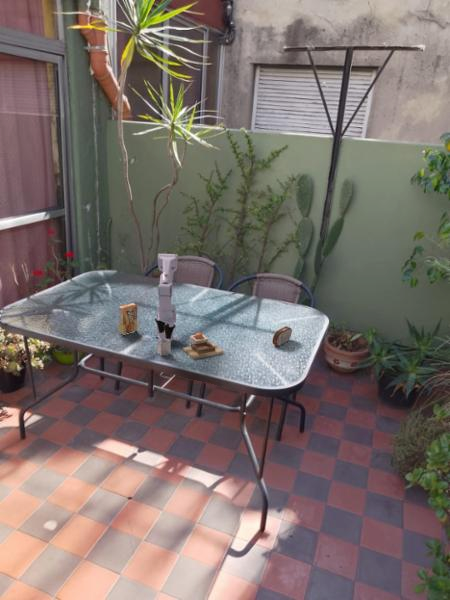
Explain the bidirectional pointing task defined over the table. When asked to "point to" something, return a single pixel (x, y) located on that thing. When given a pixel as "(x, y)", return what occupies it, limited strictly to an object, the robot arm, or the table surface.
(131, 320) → the candy box
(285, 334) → the sandwich
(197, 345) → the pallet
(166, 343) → the billet
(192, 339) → the button housing
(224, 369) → the table surface
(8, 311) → the table surface
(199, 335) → the button
